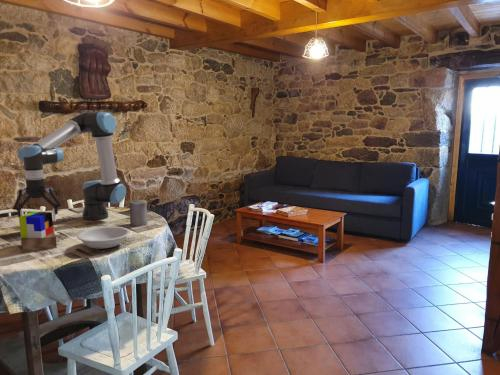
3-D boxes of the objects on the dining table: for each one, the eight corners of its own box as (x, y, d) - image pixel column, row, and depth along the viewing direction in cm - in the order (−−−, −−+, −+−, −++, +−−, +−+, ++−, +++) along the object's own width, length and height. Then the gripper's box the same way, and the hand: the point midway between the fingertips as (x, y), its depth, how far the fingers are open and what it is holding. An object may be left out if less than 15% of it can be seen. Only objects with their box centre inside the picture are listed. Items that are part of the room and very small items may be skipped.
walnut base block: (53, 240, 195) (52, 229, 194) (56, 248, 183) (55, 236, 182) (21, 245, 187) (20, 233, 186) (22, 253, 176) (21, 241, 175)
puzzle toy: (41, 238, 179) (39, 217, 177) (20, 237, 179) (18, 217, 178) (53, 232, 189) (51, 212, 187) (33, 231, 189) (31, 211, 188)
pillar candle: (130, 222, 228) (128, 198, 225) (147, 221, 231) (146, 197, 228) (130, 227, 219) (129, 201, 216) (148, 225, 222) (147, 200, 219)
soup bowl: (140, 240, 195) (139, 228, 193) (113, 257, 172) (112, 242, 170) (97, 237, 200) (97, 224, 199) (66, 252, 177) (65, 238, 176)
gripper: (2, 181, 173) (7, 226, 177) (63, 178, 182) (67, 221, 186) (5, 178, 180) (10, 222, 184) (64, 176, 189) (68, 217, 193)
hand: (39, 222), depth 185 cm, fingers open, 13 cm apart
